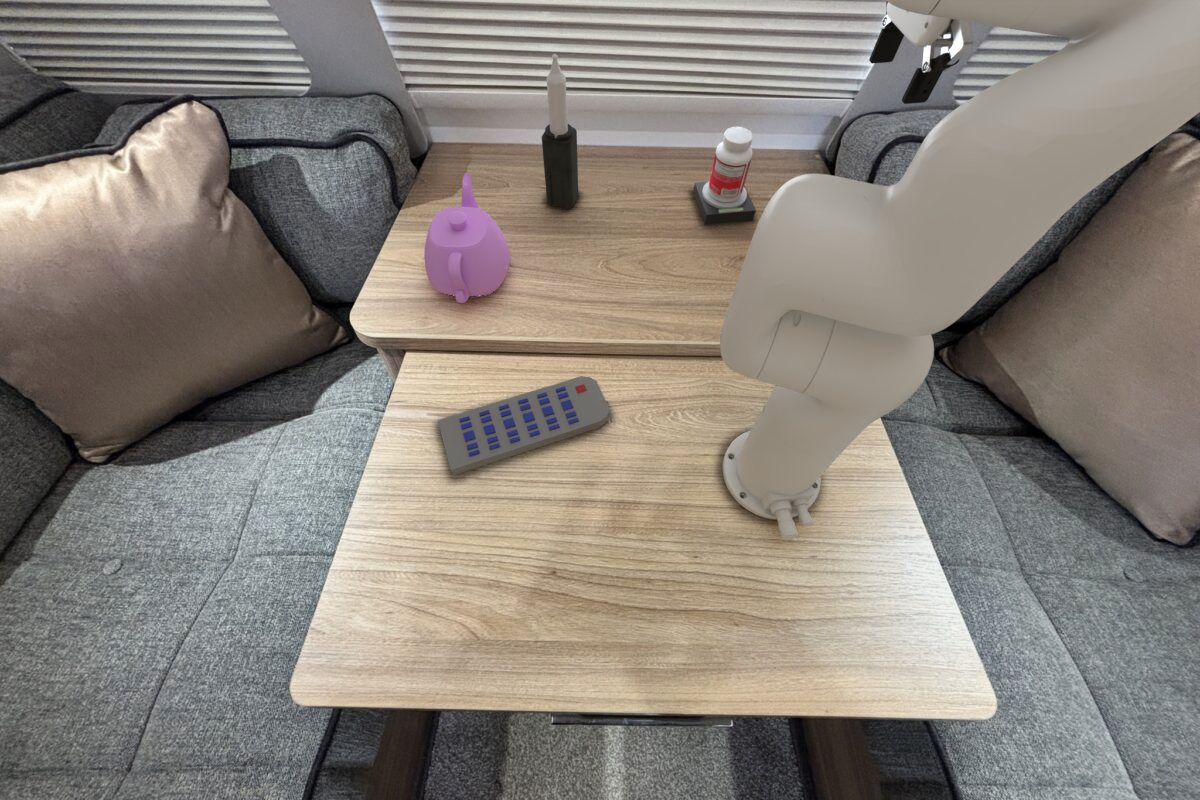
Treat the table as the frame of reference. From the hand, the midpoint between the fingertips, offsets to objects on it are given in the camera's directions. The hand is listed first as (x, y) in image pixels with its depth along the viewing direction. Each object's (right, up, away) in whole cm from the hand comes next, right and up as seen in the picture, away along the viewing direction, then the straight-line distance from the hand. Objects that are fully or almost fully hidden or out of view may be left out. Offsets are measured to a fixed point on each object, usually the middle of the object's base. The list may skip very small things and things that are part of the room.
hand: (896, 81), depth 69 cm
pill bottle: (-16, -4, +27) cm, 32 cm away
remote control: (-49, -45, +5) cm, 67 cm away
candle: (-45, -4, +30) cm, 55 cm away
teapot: (-60, -20, +20) cm, 66 cm away
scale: (-16, -6, +29) cm, 34 cm away
